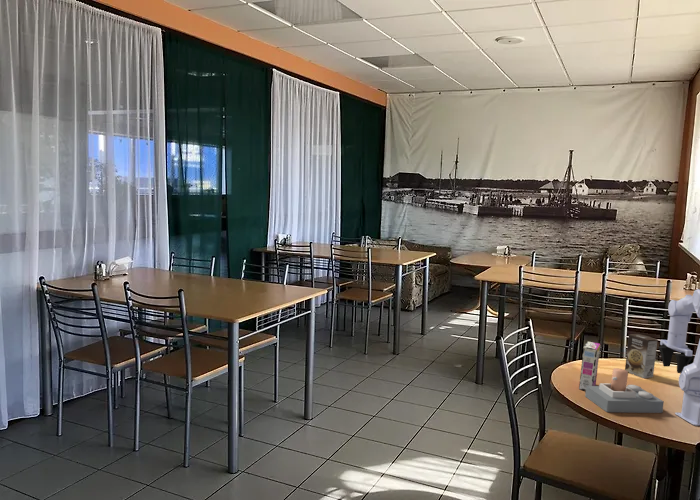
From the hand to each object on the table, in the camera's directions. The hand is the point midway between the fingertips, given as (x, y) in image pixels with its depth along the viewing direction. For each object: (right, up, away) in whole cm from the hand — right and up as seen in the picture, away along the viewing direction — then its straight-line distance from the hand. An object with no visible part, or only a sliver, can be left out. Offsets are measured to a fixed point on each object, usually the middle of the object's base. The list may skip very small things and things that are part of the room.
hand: (673, 369), depth 200 cm
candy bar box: (-28, -9, +8) cm, 30 cm away
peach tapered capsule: (-25, -6, -9) cm, 28 cm away
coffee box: (+1, -8, +26) cm, 27 cm away
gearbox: (-23, -10, -9) cm, 27 cm away
